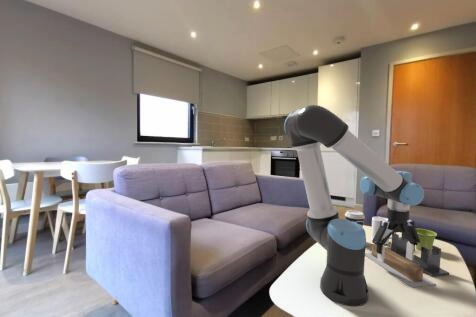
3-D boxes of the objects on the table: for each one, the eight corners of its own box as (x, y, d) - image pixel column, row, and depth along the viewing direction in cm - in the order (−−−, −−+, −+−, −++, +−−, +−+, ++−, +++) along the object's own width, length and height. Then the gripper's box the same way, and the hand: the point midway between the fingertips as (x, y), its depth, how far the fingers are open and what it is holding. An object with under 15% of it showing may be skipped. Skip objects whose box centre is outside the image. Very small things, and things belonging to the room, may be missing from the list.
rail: (414, 282, 88) (415, 269, 88) (371, 254, 110) (372, 244, 109) (422, 281, 88) (423, 268, 88) (378, 254, 110) (378, 243, 110)
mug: (399, 245, 122) (400, 222, 121) (388, 248, 118) (389, 224, 117) (377, 237, 132) (378, 215, 132) (366, 239, 129) (368, 217, 128)
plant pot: (440, 254, 112) (441, 236, 112) (418, 252, 114) (419, 234, 113) (428, 246, 122) (429, 229, 121) (407, 244, 123) (408, 227, 123)
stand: (431, 276, 93) (433, 252, 92) (384, 249, 116) (385, 230, 116) (449, 275, 94) (451, 251, 93) (398, 248, 118) (399, 229, 117)
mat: (411, 287, 85) (411, 286, 85) (362, 253, 111) (362, 253, 111) (435, 285, 87) (435, 283, 87) (381, 252, 113) (381, 251, 113)
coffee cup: (364, 239, 128) (365, 211, 127) (362, 245, 120) (364, 216, 119) (345, 235, 133) (346, 209, 132) (342, 241, 125) (343, 213, 124)
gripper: (377, 212, 92) (374, 266, 93) (433, 210, 96) (429, 262, 97) (364, 207, 99) (361, 257, 100) (416, 206, 103) (413, 254, 105)
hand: (395, 260), depth 99 cm, fingers open, 13 cm apart
